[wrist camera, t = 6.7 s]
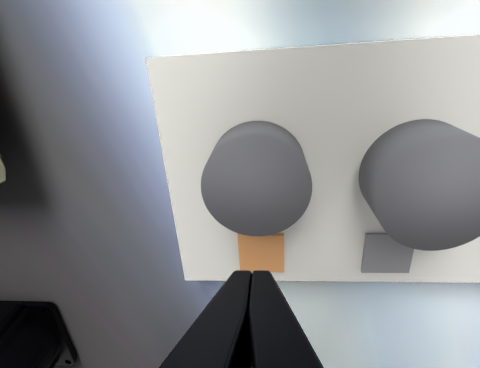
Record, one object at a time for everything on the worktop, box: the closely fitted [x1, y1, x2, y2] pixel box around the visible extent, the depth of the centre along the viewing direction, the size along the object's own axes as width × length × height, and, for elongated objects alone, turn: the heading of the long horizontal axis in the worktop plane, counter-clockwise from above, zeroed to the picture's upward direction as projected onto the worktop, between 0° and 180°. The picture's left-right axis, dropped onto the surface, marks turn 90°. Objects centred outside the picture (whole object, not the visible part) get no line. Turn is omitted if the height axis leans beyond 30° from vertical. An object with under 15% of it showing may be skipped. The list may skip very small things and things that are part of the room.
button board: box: [146, 34, 480, 283], centre depth 15 cm, size 12×22×2 cm, turn 94°
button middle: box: [358, 119, 480, 251], centre depth 12 cm, size 4×4×2 cm
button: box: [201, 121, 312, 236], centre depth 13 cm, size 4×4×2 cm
